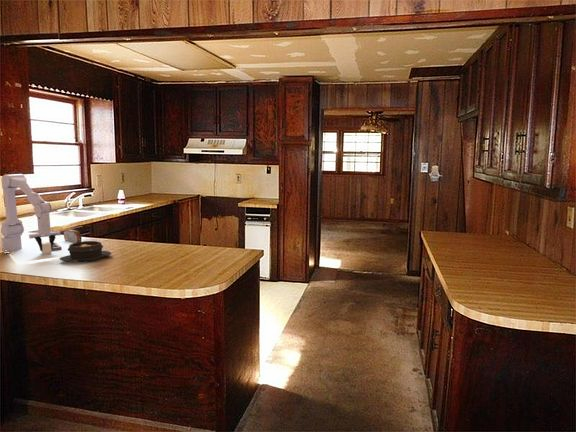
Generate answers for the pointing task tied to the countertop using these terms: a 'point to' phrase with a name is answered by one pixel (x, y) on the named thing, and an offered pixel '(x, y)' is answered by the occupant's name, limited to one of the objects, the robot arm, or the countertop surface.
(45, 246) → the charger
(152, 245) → the countertop surface
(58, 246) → the grey rectangular hollow block
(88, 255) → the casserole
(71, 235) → the tin
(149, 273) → the countertop surface
